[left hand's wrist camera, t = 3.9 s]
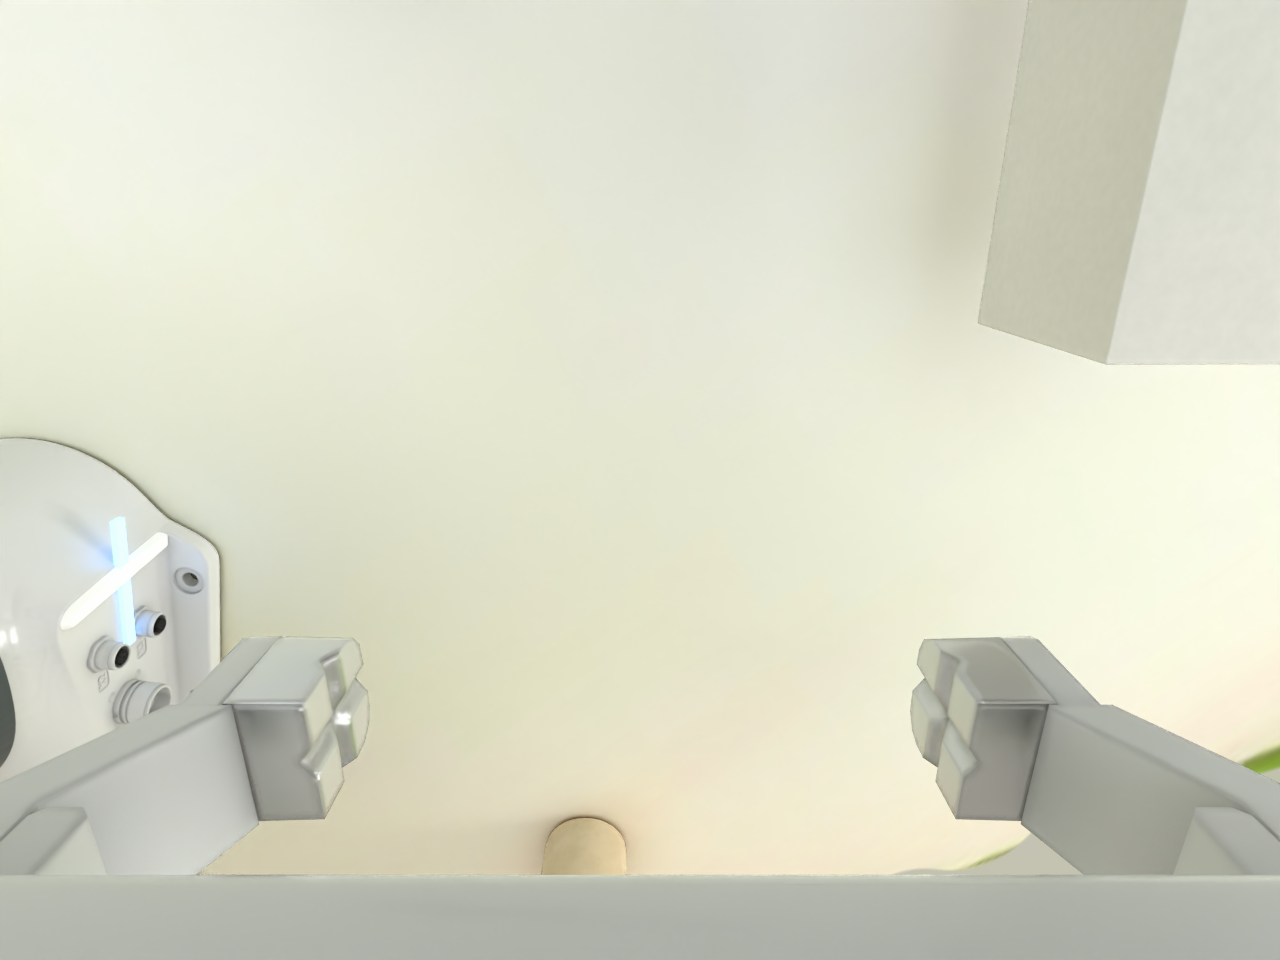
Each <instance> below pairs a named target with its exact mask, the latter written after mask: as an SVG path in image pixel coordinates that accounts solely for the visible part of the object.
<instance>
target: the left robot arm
mask: <svg viewBox="0 0 1280 960" xmlns="http://www.w3.org/2000/svg"><path fill="white" fill-rule="evenodd" d="M190 573H192V574H194V575H195V576H196V577H197V579H198V580H196V579H194V578H193V577H192V576H191V574H190ZM362 665H363V661H362V656H361V651H360V645H359V644H358V643H357V642H356V640H355V639H354V638H325V637H281V636H266V637H249V638H244V639H242V640H241V641H240V642H239V643H238V644H237V645H236V646H235V647H234V648H233V649H232V651H231V652H230V653H229V654H228V655H227V656H226V657H225V658H224V659H223V660H222V661H220V560H219V555H218V552H217V550H216V549H215V547H214V546H213V545H212V544H211V543H210V542H209V541H208V540H206V539H205V538H203V537H202V536H200V535H198V534H197V533H195V532H193V531H191V530H190V529H188V528H186V527H184V526H182V525H180V524H178V523H176V522H174V521H172V520H170V519H169V518H168V517H166V516H165V515H164V514H163V513H161V512H160V511H159V510H158V509H157V508H156V507H155V506H154V505H153V504H152V503H151V502H150V501H149V500H148V499H147V498H146V497H145V496H144V495H143V494H142V493H141V492H140V491H139V490H138V489H137V488H136V487H135V486H134V485H133V484H132V483H131V482H129V481H128V480H127V479H126V478H124V477H123V476H122V475H120V474H119V473H118V472H116V471H115V470H113V469H112V468H110V467H109V466H107V465H106V464H104V463H102V462H100V461H99V460H97V459H95V458H93V457H91V456H89V455H87V454H85V453H82V452H80V451H78V450H75V449H72V448H70V447H67V446H64V445H60V444H57V443H53V442H48V441H43V440H37V439H29V438H4V439H0V960H1280V783H1278V782H1276V781H1274V780H1272V779H1270V778H1268V777H1265V776H1263V775H1261V774H1259V773H1257V772H1255V771H1253V770H1250V769H1248V768H1246V767H1244V766H1242V765H1240V764H1238V763H1235V762H1233V761H1231V760H1229V759H1227V758H1225V757H1223V756H1220V755H1218V754H1216V753H1214V752H1212V751H1210V750H1208V749H1205V748H1203V747H1201V746H1199V745H1197V744H1195V743H1193V742H1190V741H1188V740H1186V739H1184V738H1182V737H1180V736H1178V735H1175V734H1173V733H1171V732H1169V731H1167V730H1165V729H1163V728H1160V727H1158V726H1156V725H1154V724H1152V723H1150V722H1148V721H1145V720H1143V719H1141V718H1139V717H1137V716H1135V715H1133V714H1130V713H1128V712H1126V711H1124V710H1122V709H1120V708H1118V707H1115V706H1113V705H1100V704H1099V703H1098V702H1097V701H1096V700H1095V699H1094V698H1093V696H1092V695H1091V694H1090V693H1089V692H1088V691H1087V690H1086V689H1085V688H1084V687H1083V686H1082V685H1081V684H1080V683H1079V682H1078V681H1077V680H1076V679H1075V678H1074V677H1073V676H1072V674H1071V673H1070V672H1069V671H1068V670H1067V669H1066V668H1065V667H1064V666H1063V665H1062V664H1061V663H1060V662H1059V661H1058V660H1057V659H1056V658H1055V657H1054V656H1053V655H1052V654H1051V652H1050V651H1049V650H1048V649H1047V648H1046V647H1045V646H1044V645H1043V644H1042V643H1041V642H1040V641H1039V640H1038V639H1035V638H1033V637H1030V636H1015V637H994V638H956V639H924V640H923V643H922V645H921V647H920V649H919V654H918V660H917V665H918V667H919V669H920V670H921V672H922V674H923V675H924V677H925V678H924V679H923V681H922V682H921V683H920V684H919V685H918V686H917V687H916V688H915V689H914V690H913V692H912V701H911V709H910V712H911V723H912V731H913V734H914V738H915V741H916V744H917V746H918V748H919V750H920V752H921V754H922V756H923V758H925V759H926V760H927V761H929V762H930V763H932V764H933V765H935V766H936V767H938V770H937V776H936V783H937V785H938V787H939V789H940V790H941V792H942V794H943V796H944V798H945V800H946V802H947V804H948V805H949V807H950V809H951V811H952V813H953V815H954V817H955V819H971V820H1007V821H1021V824H1022V825H1023V826H1024V827H1025V828H1027V829H1028V830H1029V831H1030V832H1031V833H1033V834H1034V835H1035V836H1036V837H1038V838H1039V839H1040V840H1041V841H1043V842H1044V843H1045V844H1046V845H1048V846H1049V847H1050V848H1051V849H1053V850H1054V851H1055V852H1056V853H1058V854H1059V855H1060V856H1061V857H1062V858H1064V859H1065V860H1066V861H1067V862H1069V863H1070V864H1071V865H1072V866H1074V867H1075V868H1076V869H1077V870H1079V871H1080V872H1081V873H1082V874H1084V875H197V874H198V873H199V872H200V871H202V870H203V869H204V868H205V867H207V866H208V865H209V864H210V863H212V862H213V861H214V860H215V859H217V858H218V857H219V856H220V855H222V854H223V853H224V852H225V851H226V850H228V849H229V848H230V847H231V846H233V845H234V844H235V843H236V842H238V841H239V840H240V839H241V838H243V837H244V836H245V835H246V834H248V833H249V832H250V831H251V830H253V829H254V828H255V827H256V826H258V825H259V821H273V820H307V819H325V817H326V815H327V813H328V811H329V809H330V807H331V806H332V804H333V802H334V800H335V798H336V796H337V794H338V792H339V791H340V789H341V787H342V785H343V783H344V776H343V770H342V767H344V766H345V765H347V764H348V763H350V762H351V761H353V760H354V759H355V758H357V756H358V754H359V752H360V750H361V748H362V746H363V744H364V742H365V738H366V733H367V729H368V724H369V699H368V692H367V690H366V689H365V688H364V687H363V686H362V685H361V684H360V683H359V682H358V680H357V679H356V678H355V677H356V675H357V674H358V672H359V670H360V669H361V667H362Z"/></svg>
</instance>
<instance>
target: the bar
mask: <svg viewBox="0 0 1280 960" xmlns="http://www.w3.org/2000/svg"><path fill="white" fill-rule="evenodd" d="M978 324H981V325H984V326H987V327H990V328H994V329H997V330H1000V331H1003V332H1006V333H1009V334H1012V335H1015V336H1019V337H1022V338H1025V339H1028V340H1031V341H1034V342H1037V343H1040V344H1044V345H1047V346H1050V347H1053V348H1056V349H1059V350H1062V351H1065V352H1069V353H1072V354H1075V355H1078V356H1081V357H1084V358H1087V359H1090V360H1094V361H1097V362H1100V363H1103V364H1106V365H1132V364H1280V0H1029V3H1028V10H1027V16H1026V22H1025V29H1024V35H1023V41H1022V47H1021V54H1020V60H1019V66H1018V73H1017V79H1016V85H1015V91H1014V98H1013V104H1012V110H1011V117H1010V123H1009V129H1008V135H1007V142H1006V148H1005V154H1004V161H1003V167H1002V173H1001V179H1000V186H999V192H998V198H997V204H996V211H995V217H994V223H993V230H992V236H991V242H990V248H989V255H988V261H987V267H986V274H985V280H984V286H983V292H982V299H981V305H980V311H979V318H978Z"/></svg>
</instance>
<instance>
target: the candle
mask: <svg viewBox="0 0 1280 960" xmlns="http://www.w3.org/2000/svg"><path fill="white" fill-rule="evenodd" d="M541 875H626V847H625V842H624V839H623V837H622V835H621V834H620V833H619V832H618V831H617V830H616V829H615V828H614V827H613V826H612V825H610V824H608V823H606V822H604V821H601V820H598V819H593V818H577V819H572V820H569V821H566V822H564V823H562V824H561V825H559V826H558V827H556V828H555V829H554V830H553V831H552V833H551V834H550V836H549V838H548V840H547V843H546V847H545V853H544V859H543V865H542V872H541Z"/></svg>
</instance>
